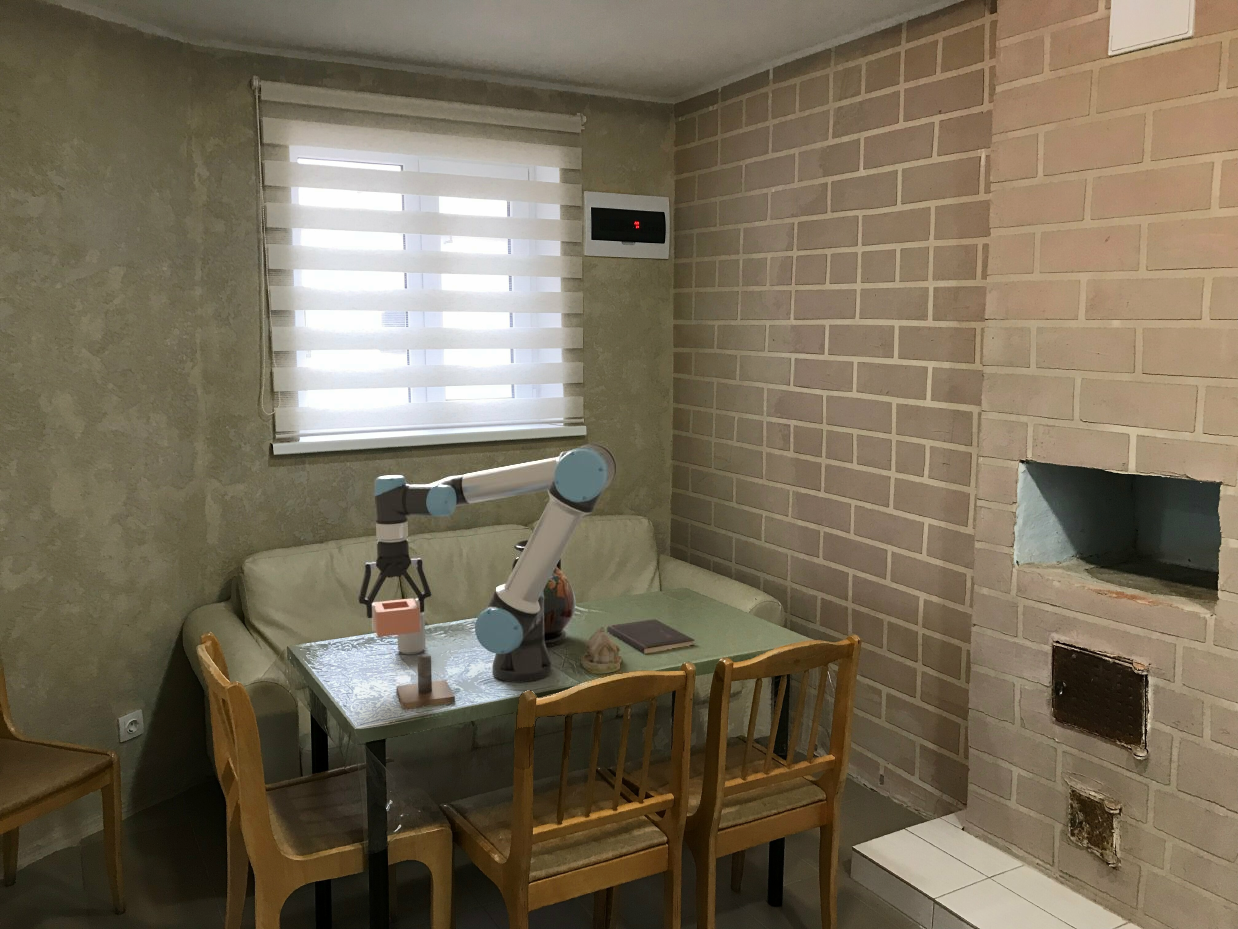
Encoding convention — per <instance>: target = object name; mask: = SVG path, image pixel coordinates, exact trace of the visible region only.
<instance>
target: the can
mask: <svg viewBox="0 0 1238 929" xmlns="http://www.w3.org/2000/svg"><path fill="white" fill-rule="evenodd" d="M425 616H426V615H425V611H424V612H422V613H420V621H421V627H420V632H417V633H408V634H399V635H397V650H398V651H399V652H400V654H404V655H415V654H420V653H422V652H423V651H424V650H425V649H426V647H427V645H426V617H425Z"/></svg>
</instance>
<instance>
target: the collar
mask: <svg viewBox="0 0 1238 929" xmlns="http://www.w3.org/2000/svg"><path fill="white" fill-rule="evenodd" d="M373 603H374V604H375V616H376V632H375V633H376V635H377V637H379V638H381V637H390V636H398V635H399V634H408V633H417V632H420V620H419V607H418V606H417V604H416V602H415V598H403V599H394V600H393V599H392V600H384V601H373Z"/></svg>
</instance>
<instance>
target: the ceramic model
mask: <svg viewBox="0 0 1238 929" xmlns="http://www.w3.org/2000/svg"><path fill="white" fill-rule="evenodd" d="M605 630H606V629H605V628H604V627H598V628H597V629H596V630H595V631H594V632H593V634H591V636H590V637H589V638H588V640H587V642H586V647H587V648H588V649H587V650H588V651H587V652H586V653H584V654H583V655H582V657H581V659H580V664H581V665H582V668H584V669H585V670H586V671H587V672H589V673H592V674H609V673H615V672H616V671H618V670H619V669H621V663H622V661H623V657H622V656H621V655H619V652H620V651H621V647H620V646H619V645H617V644H616V642H614V641H613V640H612V639H611V638H610V636H609V635H608V634H607V632H606V631H605Z"/></svg>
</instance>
